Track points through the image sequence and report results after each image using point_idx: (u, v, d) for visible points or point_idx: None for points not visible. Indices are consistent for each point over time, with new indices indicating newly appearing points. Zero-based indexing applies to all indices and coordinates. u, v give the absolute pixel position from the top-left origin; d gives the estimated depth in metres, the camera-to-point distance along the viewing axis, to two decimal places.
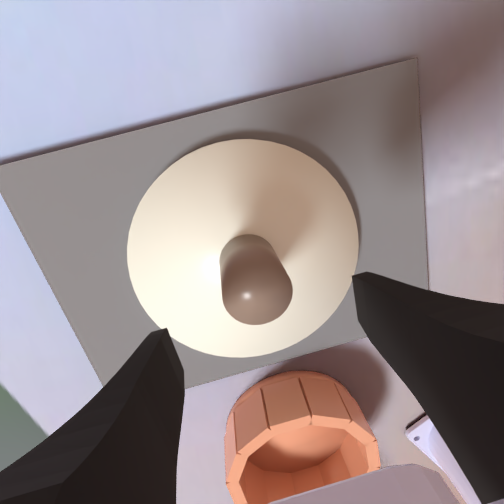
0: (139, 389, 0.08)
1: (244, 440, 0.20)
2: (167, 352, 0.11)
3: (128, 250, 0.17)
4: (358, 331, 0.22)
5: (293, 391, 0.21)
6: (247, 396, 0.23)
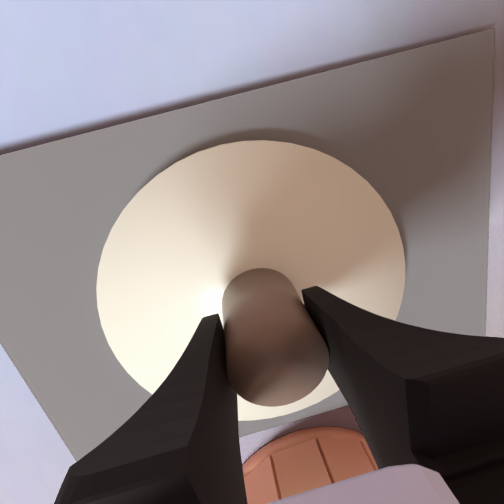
0: (211, 369, 0.09)
1: None
2: (222, 337, 0.11)
3: (98, 291, 0.13)
4: None
5: (312, 460, 0.17)
6: (253, 465, 0.18)
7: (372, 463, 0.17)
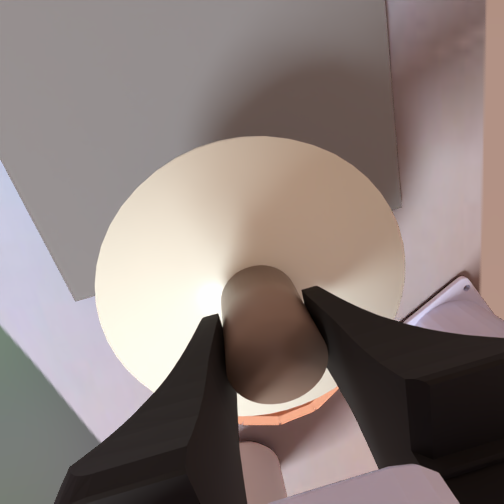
0: (210, 368, 0.09)
1: None
2: (222, 336, 0.11)
3: (96, 288, 0.13)
4: None
5: None
6: None
7: None
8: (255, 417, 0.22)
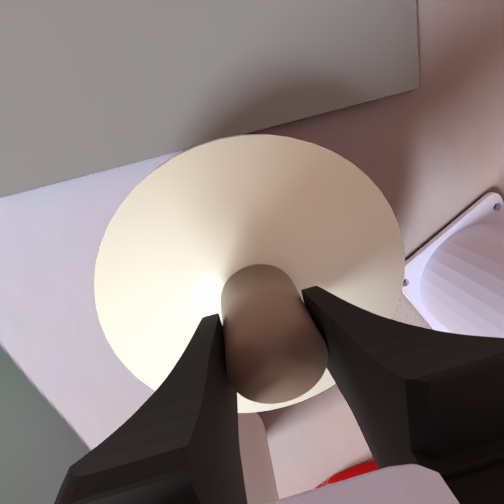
0: (210, 368, 0.09)
1: None
2: (222, 336, 0.11)
3: (96, 287, 0.13)
4: (325, 98, 0.16)
5: None
6: None
7: None
8: None
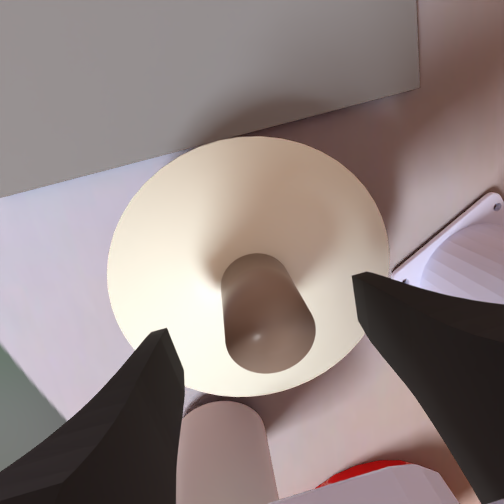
0: (139, 389, 0.08)
1: None
2: (167, 352, 0.11)
3: (108, 274, 0.14)
4: (325, 98, 0.16)
5: None
6: None
7: None
8: None
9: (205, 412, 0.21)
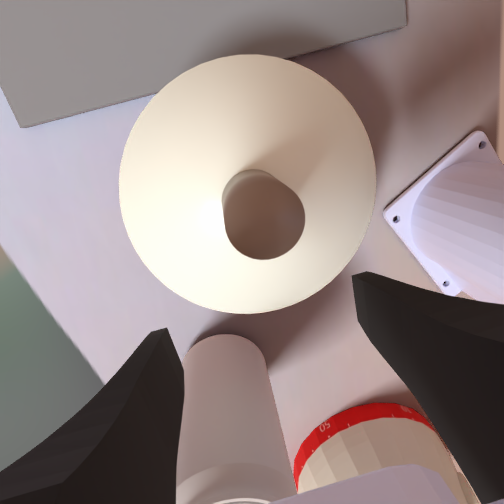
0: (139, 389, 0.08)
1: None
2: (167, 352, 0.11)
3: (120, 186, 0.16)
4: (318, 35, 0.18)
5: None
6: None
7: None
8: None
9: (209, 342, 0.23)
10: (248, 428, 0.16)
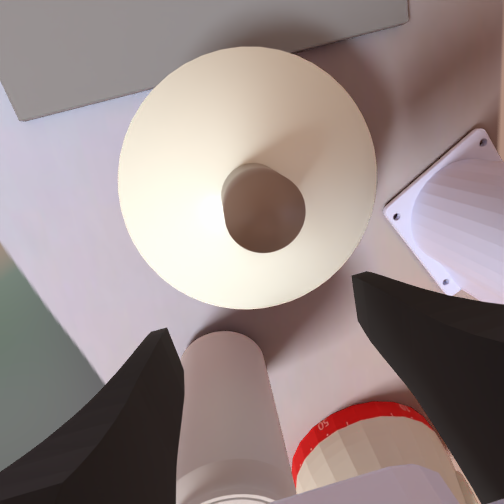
0: (139, 389, 0.08)
1: None
2: (167, 352, 0.11)
3: (119, 177, 0.15)
4: (320, 30, 0.18)
5: None
6: None
7: None
8: None
9: (208, 339, 0.23)
10: (246, 424, 0.16)
